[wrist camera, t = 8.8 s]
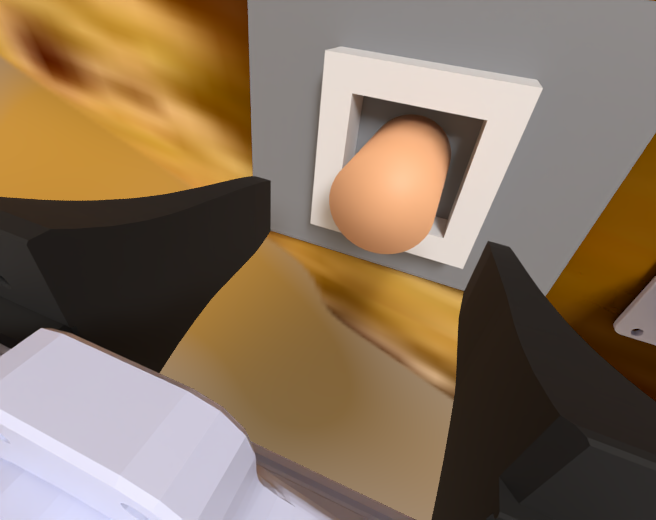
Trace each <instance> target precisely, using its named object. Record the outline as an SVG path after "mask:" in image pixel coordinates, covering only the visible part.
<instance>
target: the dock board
mask: <svg viewBox="0 0 656 520" xmlns="http://www.w3.org/2000/svg"><path fill="white" fill-rule="evenodd" d="M248 27H249V60H250V93H251V126H252V160H253V176H256V177H260V178H264V179H267V180H271V231H274V232H277V233H280V234H283V235H287V236H290V237H293V238H296V239H299V240H303V241H306V242H309V243H312V244H315V245H319V246H322V247H325V248H328V249H331V250H335V251H338V252H341V253H344V254H347V255H351V256H354V257H357V258H360V259H363V260H367V261H370V262H373V263H376V264H379V265H383V266H386V267H389V268H392V269H395V270H399V271H402V272H405V273H408V274H412V275H415V276H418V277H421V278H424V279H428V280H431V281H434V282H437V283H440V284H444V285H447V286H450V287H453V288H456V289H460V290H463V291H465V288H466V286H467V284H468V282H469V280H470V278H471V276H472V273H473V271H474V269H475V267H476V265H477V263H478V261H479V259H480V256H481V254H482V252H483V250H484V248H485V246H486V244H487V242H488V241H491V242H494V243H498V244H501V245H505V246H509V247H510V248H511V249H512V250H513V252H514V253H515V255H516V256H517V258H518V259H519V261H520V262H521V264H522V265H523V266H524V268H525V269H526V271H527V272H528V274H529V275H530V277H531V278H532V280H533V281H534V282H535V284H536V285H537V286H538V288H539V289H540V290H541V292H542V293H543V294H544V296H546V295H547V293H548V292H549V290H550V289H551V287H552V286H553V284H554V283H555V281H556V280H557V278H558V277H559V275H560V274H561V272H562V271H563V269H564V268H565V266H566V265H567V263H568V262H569V260H570V259H571V257H572V256H573V254H574V253H575V251H576V250H577V249H578V247H579V246H580V244H581V243H582V241H583V240H584V238H585V237H586V235H587V234H588V232H589V231H590V229H591V228H592V226H593V225H594V223H595V222H596V220H597V219H598V217H599V216H600V214H601V213H602V211H603V210H604V208H605V207H606V205H607V204H608V202H609V201H610V200H611V198H612V197H613V195H614V194H615V192H616V191H617V189H618V188H619V186H620V185H621V183H622V182H623V180H624V179H625V177H626V176H627V174H628V173H629V171H630V170H631V168H632V167H633V165H634V164H635V162H636V161H637V159H638V158H639V156H640V155H641V153H642V152H643V151H644V149H645V148H646V146H647V145H648V143H649V142H650V140H651V139H652V137H653V136H654V134H655V133H656V1H648V0H248ZM408 114H415V115H421V116H424V117H427V118H429V119H431V120H433V121H434V122H436V123H437V124H438V125H439V126H440V127H441V128H442V129H443V130H444V132H445V133H446V135H447V137H448V139H449V142H450V147H451V161H450V165H449V168H448V172H447V176H446V179H445V183H444V187H443V190H442V194H441V197H440V201H439V205H438V208H437V212H436V215H435V219H434V223H433V225H432V228H431V230H430V231H429V233H428V235H427V236H426V237H425V238H424V240H422V241H421V242H420V243H419V244H418V245H416V246H415V247H413V248H411V249H409V250H407V251H404V252H401V253H396V254H378V253H373V252H370V251H367V250H364V249H362V248H360V247H358V246H356V245H355V244H353V243H352V242H351V241H349V240H348V239H347V238H346V237H345V236H344V235H343V234H342V233H341V231H340V230H339V229H338V227H337V226H336V224H335V222H334V220H333V217H332V215H331V211H330V205H329V195H330V189H331V186H332V183H333V181H334V179H335V177H336V176H337V175H338V173H339V172H340V171H341V170H342V169H343V168H344V167H345V165H346V164H347V163H348V162H349V161H350V160H351V159H352V158H353V157H354V156H355V155H356V154H357V153H358V152H359V151H360V149H361V148H362V147H363V146H364V145H365V144H366V143H367V142H368V141H369V140H370V139H371V138H372V137H373V136H374V135H375V133H376V132H377V131H378V130H379V129H380V128H381V127H382V126H383V125H384V124H385V123H387V122H388V121H390V120H391V119H393V118H396V117H398V116H402V115H408Z"/></svg>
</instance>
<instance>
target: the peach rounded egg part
mask: <svg viewBox="0 0 656 520" xmlns="http://www.w3.org/2000/svg"><path fill="white" fill-rule="evenodd" d="M450 161H451V147H450V142H449V139H448V137H447V135H446V133H445V132H444V130H443V129H442V128H441V127H440V126H439V125H438V124H437V123H436V122H434V121H433V120H431V119H429V118H427V117H424V116H421V115H415V114H408V115H402V116H398V117H396V118H393V119H391V120H390V121H388V122H387V123H385V124H384V125H383V126H382V127H381V128H380V129H379V130H378V131H377V132H376V133H375V135H374V136H373V137H372V138H371V139H370V140H369V141H368V142H367V143H366V144H365V145H364V146H363V147H362V148H361V149H360V151H359V152H358V153H357V154H356V155H355V156H354V157H353V158H352V159H351V160H350V161H349V162H348V163H347V164H346V165H345V167H344V168H343V169H342V170H341V171H340V172H339V173H338V175H337V176H336V177H335V179H334V181H333V183H332V186H331V189H330V195H329V205H330V211H331V215H332V217H333V220H334V222H335V224H336V226H337V227H338V229H339V230H340V231H341V233H342V234H343V235H344V236H345V237H346V238H347V239H348V240H349V241H351V242H352V243H353V244H355V245H356V246H358V247H360V248H362V249H364V250H367V251H370V252H373V253H378V254H396V253H401V252H404V251H407V250H409V249H411V248H413V247H415V246H416V245H418V244H419V243H420V242H421V241H422V240H424V238H425V237H426V236H427V235H428V233H429V231H430V230H431V228H432V225H433V223H434V219H435V215H436V212H437V208H438V205H439V201H440V197H441V194H442V190H443V187H444V183H445V179H446V176H447V172H448V168H449V165H450Z"/></svg>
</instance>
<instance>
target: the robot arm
mask: <svg viewBox="0 0 656 520" xmlns="http://www.w3.org/2000/svg"><path fill="white" fill-rule="evenodd" d="M270 231H271V180H267V179H264V178H260V177H256V176H251V177H244V178H239V179H234V180H229V181H225V182H221V183H216V184H212V185H208V186H204V187H199V188H194V189H189V190H184V191H180V192H175V193H170V194H163V195H157V196H149V197H140V198H131V199H114V200H98V201H59V200H57V201H56V200H36V199H21V198H7V197H0V520H415V519H413V518H411V517H409V516H407V515H404V514H402V513H400V512H398V511H396V510H394V509H392V508H390V507H388V506H386V505H383V504H382V503H379V502H377V501H375V500H373V499H371V498H369V497H367V496H365V495H363V494H360V493H358V492H356V491H354V490H352V489H350V488H348V487H345V486H344V485H342V484H339V483H337V482H335V481H333V480H331V479H329V478H327V477H325V476H323V475H321V474H318V473H316V472H314V471H312V470H310V469H308V468H306V467H304V466H301V465H299V464H297V463H295V462H293V461H291V460H289V459H287V458H285V457H283V456H281V455H278V454H276V453H274V452H272V451H270V450H268V449H266V448H264V447H262V446H259V445H257V444H255V443H253V442H251V441H250V439H249V437H248V435H247V432H246V430H245V428H244V427H243V426H241V424H240V423H239V422H238V421H236V420H235V418H234V417H233V416H231V415H230V414H229V413H228V412H227V411H226V410H225V409H224V408H223V407H222V406H221V405H219V404H217V403H216V402H214V401H212V400H211V399H209V398H207V397H206V396H204V395H202V394H201V393H199V392H198V391H196V390H194V389H192V388H190V387H188V386H186V385H184V384H181V383H179V382H177V381H175V380H173V379H170V378H168V377H166V376H164V375H161V374H159V373H160V371H161V370H162V368H163V367H164V365H165V363H166V362H167V360H168V359H169V357H170V356H171V354H172V353H173V351H174V350H175V348H176V347H177V345H178V343H179V342H180V341H181V339H182V338H183V337H184V335H185V334H186V332H187V331H188V329H189V328H190V327H191V325H192V324H193V322H194V321H195V320H196V318H197V317H198V316H199V314H200V313H201V312H202V310H203V309H204V308H205V307H206V305H207V304H208V303H209V301H210V300H211V299H212V298H213V297H214V295H215V294H216V293H217V292H218V291H219V290H220V289H221V288H222V287H223V286H224V285H225V284H226V283H227V282H228V281H229V280H230V278H231V277H232V276H233V275H234V274H235V273H236V272H237V271H238V270H239V269H240V268H241V267H242V266H243V265H244V264H245V263H246V262H247V261H248V260H249V259H250V258H251V256H253V254H254V253H255V252H256V251H257V250H258V248H259V247H260V246H261V244H262V243H263V241H264V240H265V238H266V237H267V235H268V234H269V232H270ZM613 326H614V329H615V331H616V332H617V333H618V334H620V335H624V336H627V337H630V338H633V339H636V340H640V341H643V342H646V343H649V344H653V345H656V276H655V277H654V278H653V279H652V280H651V282H650V283H649V284H648V285H647V286H646V287H645V288H644V289H643V290H642V292H641V293H640V294H639V295H638V296H637V297H636V298H635V299H634V301H633V302H632V303H631V304H630V305H629V306H628V307H627V308H626V309H625V311H624V312H623V313H622V314H621V315H620V316H619V317H618V318H617V319H616V321H615V322H614V324H613ZM633 329H639V330H637V331H632V330H633ZM432 520H656V402H655V401H654V400H653V399H651V398H650V397H649V396H647V395H646V394H645V393H644V392H642V391H641V390H640V389H639V388H637V387H636V386H635V385H634V384H632V383H631V382H630V381H629V380H627V379H626V378H625V377H624V376H623V375H622V374H620V373H619V372H618V371H617V370H616V369H615V368H614V367H612V366H611V365H610V364H609V363H608V362H607V361H605V360H604V359H603V358H602V357H601V356H600V355H599V354H598V353H597V352H596V351H595V350H593V349H592V348H591V347H590V346H589V345H588V344H587V343H586V342H585V341H584V340H583V339H582V338H581V337H580V336H579V335H578V334H577V333H576V332H575V331H574V330H573V329H572V328H571V326H570V325H569V324H568V323H567V322H566V321H565V320H564V319H563V318H562V316H561V315H560V314H559V313H558V312H557V310H556V309H555V308H554V307H553V306H552V304H551V303H550V302H549V301H548V300H547V298H546V297H545V296H544V294H543V293H542V292H541V290H540V289H539V288H538V286H537V285H536V284H535V282H534V281H533V280H532V278H531V277H530V275H529V274H528V272H527V271H526V269H525V268H524V266H523V265H522V264H521V262H520V261H519V259H518V258H517V256H516V255H515V253H514V252H513V250H512V249H511V248H510V247H509V246H505V245H501V244H498V243H494V242H491V241H488V242H487V244H486V246H485V248H484V250H483V252H482V254H481V256H480V259H479V261H478V263H477V265H476V267H475V269H474V271H473V273H472V276H471V278H470V280H469V282H468V284H467V286H466V288H465V291H464V294H463V299H462V304H461V309H460V315H459V324H458V346H457V371H456V387H455V396H454V402H453V409H452V415H451V421H450V427H449V433H448V438H447V444H446V450H445V455H444V461H443V466H442V471H441V476H440V482H439V487H438V492H437V496H436V501H435V506H434V511H433V515H432Z"/></svg>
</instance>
